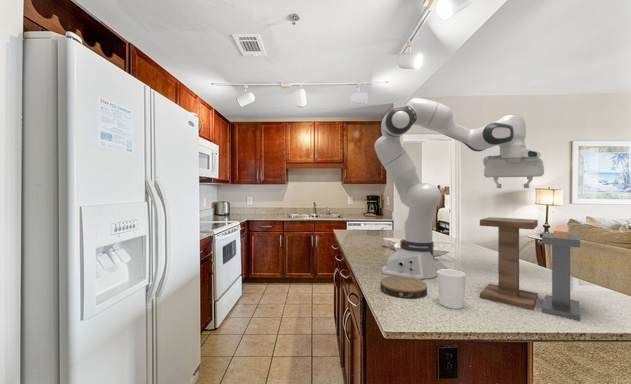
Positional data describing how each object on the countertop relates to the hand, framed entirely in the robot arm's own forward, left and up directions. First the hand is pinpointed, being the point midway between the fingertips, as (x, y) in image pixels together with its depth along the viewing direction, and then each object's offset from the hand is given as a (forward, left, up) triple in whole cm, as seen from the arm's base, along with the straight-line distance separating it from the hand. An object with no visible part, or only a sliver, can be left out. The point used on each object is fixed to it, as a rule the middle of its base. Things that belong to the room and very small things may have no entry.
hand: (512, 188), depth 113 cm
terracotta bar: (+7, -27, -15) cm, 32 cm away
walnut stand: (-7, -27, -37) cm, 46 cm away
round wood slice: (-40, -34, -38) cm, 65 cm away
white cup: (-25, -41, -37) cm, 61 cm away
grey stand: (+5, -31, -37) cm, 49 cm away
